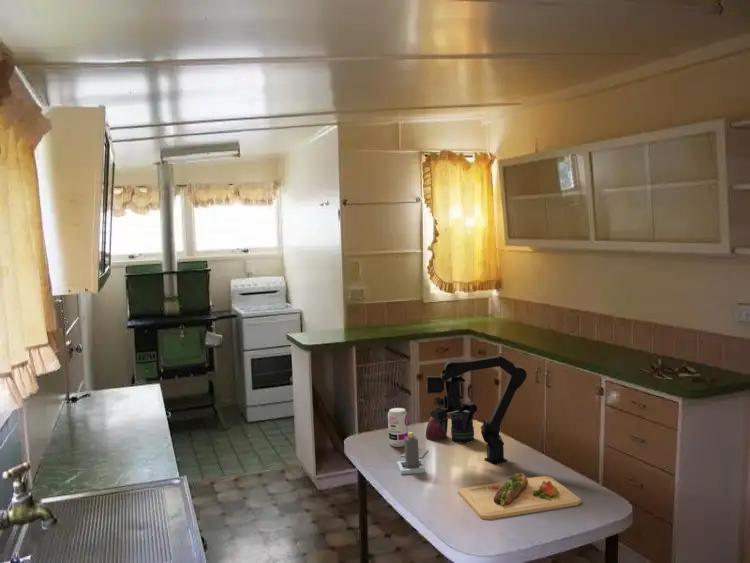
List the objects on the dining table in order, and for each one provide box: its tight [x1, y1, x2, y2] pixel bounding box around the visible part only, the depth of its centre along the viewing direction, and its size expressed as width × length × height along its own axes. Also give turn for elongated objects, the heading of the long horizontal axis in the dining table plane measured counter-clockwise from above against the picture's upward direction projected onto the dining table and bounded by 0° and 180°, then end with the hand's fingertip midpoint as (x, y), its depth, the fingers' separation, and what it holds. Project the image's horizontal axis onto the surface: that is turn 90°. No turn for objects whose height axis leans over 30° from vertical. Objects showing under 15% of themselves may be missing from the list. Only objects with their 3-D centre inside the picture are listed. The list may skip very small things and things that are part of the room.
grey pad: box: [400, 448, 429, 459], centre depth 267 cm, size 9×9×1 cm
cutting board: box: [457, 472, 582, 520], centre depth 219 cm, size 35×23×8 cm
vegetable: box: [425, 416, 448, 441], centre depth 285 cm, size 10×9×14 cm
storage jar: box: [449, 402, 475, 444], centre depth 281 cm, size 10×10×15 cm
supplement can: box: [387, 407, 409, 448], centre depth 279 cm, size 8×8×15 cm
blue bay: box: [396, 458, 426, 475], centre depth 251 cm, size 9×10×2 cm
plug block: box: [404, 431, 420, 469], centre depth 250 cm, size 4×4×14 cm
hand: (455, 432), depth 254 cm, fingers open, 9 cm apart
